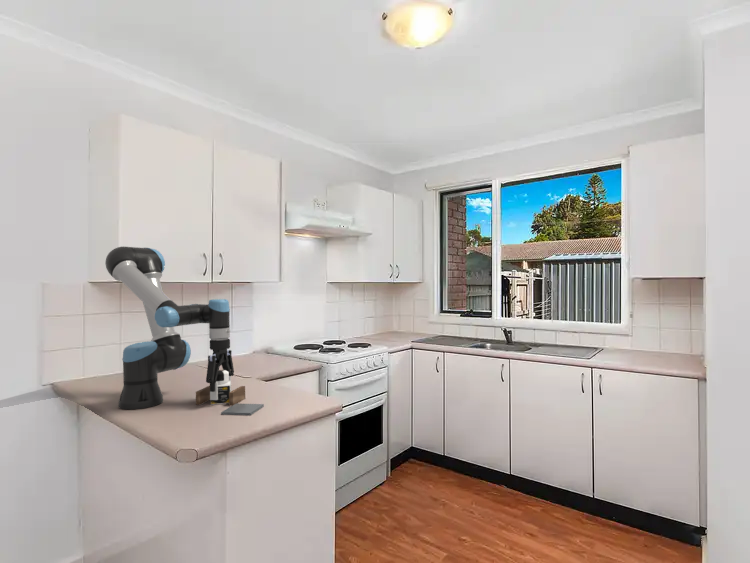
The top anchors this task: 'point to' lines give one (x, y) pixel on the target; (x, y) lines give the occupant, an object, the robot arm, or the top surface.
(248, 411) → the trivet
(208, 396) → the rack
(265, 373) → the top surface
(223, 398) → the medicine bottle
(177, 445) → the top surface
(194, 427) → the top surface
